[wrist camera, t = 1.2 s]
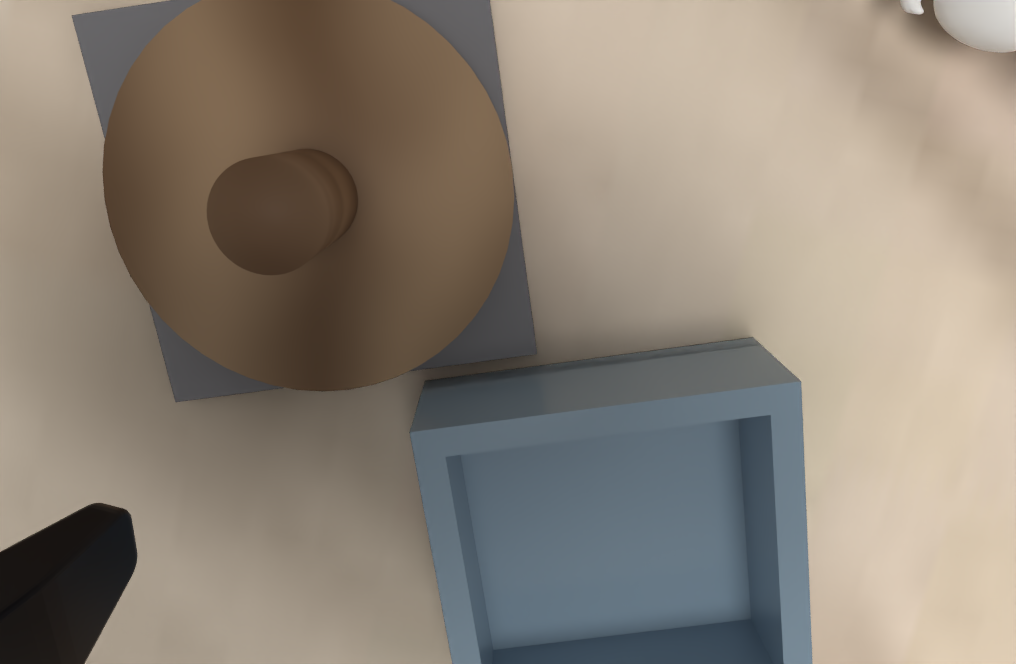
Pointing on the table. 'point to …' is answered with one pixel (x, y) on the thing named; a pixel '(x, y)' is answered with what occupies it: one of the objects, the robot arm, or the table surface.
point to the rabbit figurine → (975, 21)
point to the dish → (620, 509)
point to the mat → (469, 29)
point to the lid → (308, 188)
